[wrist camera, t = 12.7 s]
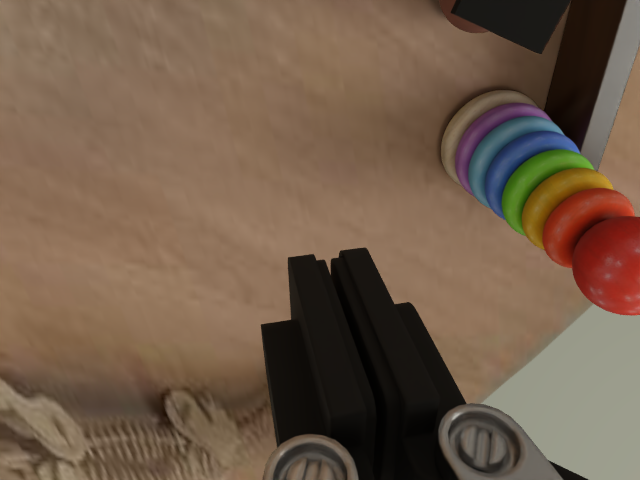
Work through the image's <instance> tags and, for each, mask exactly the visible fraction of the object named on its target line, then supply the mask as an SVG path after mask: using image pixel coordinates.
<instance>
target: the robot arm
mask: <svg viewBox="0 0 640 480" xmlns="http://www.w3.org/2000/svg"><path fill="white" fill-rule="evenodd" d="M288 274H289V290H290V307H291V320H287V321H281V322H274V323H267V324H261V331H262V341H263V350H264V358H265V366H266V374H267V381H268V388H269V395H270V402H271V409H272V415H273V422H274V429H275V436H276V442H277V449H276V450H274V451H273V452H272V454H271V456H270V458H269V459H268V461H267V463H266V465H265V470H264V475H263V480H588V479H586V478H584V477H582V476H580V475H578V474H576V473H573V472H571V471H569V470H567V469H565V468H563V467H561V466H559V465H557V464H555V463H553V462H551V461H549V460H547V459H546V457H545V456H544V455H543V454H542V452H541V451H540V450H539V449H538V448H537V446H536V445H535V444H534V442H533V441H532V440H531V439H530V438H529V436H528V435H527V434H526V432H525V431H524V430H523V429H522V428H521V426H520V425H518V423H516V422H515V421H514V420H513V419H512V418H511V417H510V416H509V415H507V414H505V413H504V412H502V411H500V410H499V409H496V408H493V407H490V406H487V405H484V404H473V403H470V404H466V402H465V400H464V398H463V396H462V394H461V392H460V391H459V389H458V387H457V385H456V383H455V381H454V379H453V378H452V376H451V374H450V372H449V370H448V368H447V366H446V365H445V363H444V361H443V359H442V357H441V355H440V353H439V352H438V350H437V348H436V346H435V344H434V342H433V340H432V339H431V337H430V335H429V333H428V331H427V329H426V327H425V326H424V324H423V322H422V320H421V318H420V316H419V314H418V313H417V311H416V309H415V307H414V306H413V305H412V304H411V303H410V302H407V303H400V304H394V302H393V300H392V298H391V296H390V294H389V292H388V290H387V288H386V286H385V284H384V282H383V280H382V278H381V276H380V274H379V272H378V270H377V268H376V266H375V264H374V262H373V260H372V258H371V256H370V254H369V252H368V250H367V248H357V249H350V250H342V251H340V253H339V258H333V259H331V275H330V273H329V270H328V267H327V264H326V262H325V260H318V261H316V258H315V256H314V254H311V255H304V256H296V257H288Z"/></svg>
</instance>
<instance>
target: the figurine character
mask: <svg viewBox="0 0 640 480" xmlns="http://www.w3.org/2000/svg"><path fill="white" fill-rule="evenodd" d="M570 1H571V0H439V3H440V6H441V9H442V11H443V13H444V15H445V17H446V18H447V19H448V20H449V21H450V22H451V23H452V24H453V25H454V26H455V27H457V28H459V29H461V30H463V31H466V32H470V33H484V32H488V31H490V32H493V33H495V34H497V35H499V36H501V37H503V38H506V39H508V40H510V41H512V42H514V43H516V44H519V45H521V46H523V47H525V48H527V49H529V50H531V51H534V52H536V53H539V54H542V52H543V50H544V48H545V47H546V45H547V43H548V41H549V39H550V38H551V36H552V34H553V32H554V30H555V29H556V27H557V25H558V23H559V21H560V19H561V18H562V16H563V14H564V12H565V10H566V9H567V7H568V5H569V3H570Z"/></svg>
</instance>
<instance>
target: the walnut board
mask: <svg viewBox="0 0 640 480" xmlns="http://www.w3.org/2000/svg"><path fill="white" fill-rule="evenodd" d="M639 45H640V0H572V3H571V7H570V11H569V15H568V19H567V23H566V27H565V31H564V35H563V39H562V43H561V47H560V51H559V55H558V59H557V63H556V67H555V71H554V75H553V79H552V83H551V87H550V91H549V95H548V99H547V103H546V107H545V111H544V112H545V113H546V114H547V115H548V116H549V117H550V119H551V120H552V122H553V123H554V124H556V125H557V126H558V127H559V128H560V129H561V131H562V132H563V134H564V135H565V136H566V137H568V138H569V139H571V140H572V141H573V142H574V143H575V145H576V146H577V148H578V150H579V152H580V154H581V155H582V156H584V157H585V158H586V159H587V160H588V161H589V162H590V163H591V164H592V166H593V168H594V170H595V171H598V168H599V165H600V162H601V159H602V156H603V153H604V150H605V147H606V144H607V141H608V138H609V135H610V132H611V129H612V126H613V123H614V120H615V117H616V114H617V111H618V108H619V105H620V102H621V99H622V96H623V93H624V90H625V87H626V84H627V81H628V78H629V75H630V72H631V69H632V66H633V63H634V60H635V57H636V54H637V51H638V48H639Z"/></svg>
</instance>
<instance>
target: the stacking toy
mask: <svg viewBox="0 0 640 480" xmlns="http://www.w3.org/2000/svg"><path fill="white" fill-rule="evenodd" d="M441 158H442V163H443V166H444V168H445V170H446V172H447V173H448V175H449V176H450V177H451V178H452V179H453V180H454V181H455V182H456V183H457V184H459V185H461V186H463V187H464V189H465V190H466V191H467V192H469V193H470V194H471V195H473V196H475V197H476V198H477V199H478V200H479V201H480V202H481V203H482V204H483V205H485V206H486V207H488V208H491V209H492V210H493V211H494V212H495V213H496V214H497V215H498V216H499V217H501V218H503V219H505V220H506V221H507V223H508V224H509V225H510V226H511V227H512V228H513V229H514V230H515V231H516V232H518V233H520V234H522V235H525V236H527V238H528V239H529V240H530V241H531V242H532V243H533V244H534V245H535V246H537V247H539V248H541V249H544V250H545V251H546V253H547V255H548V256H549V257H550V258H551V259H552V260H553V261H554V262H556V263H557V264H559V265H561V266H563V267H567V268H572V270H573V275H574V278H575V281H576V283H577V285H578V287H579V288H580V290H581V291H582V293H583V294H584V295H585V296H586V297H587V298H588V299H589V300H590V301H591V302H592V303H594V304H595V305H597V306H599V307H601V308H602V309H604V310H606V311H609V312H612V313H616V314H620V315H640V217H635V213H634V209H633V207H632V205H631V203H630V201H629V200H628V199H627V198H626V197H625V196H624V195H622V194H621V193H619V192H618V191H615V190H613V187H612V185H611V183H610V181H609V180H608V179H607V178H606V177H605V176H604V175H603V174H601V173H599V172H597V171H595V170H594V168H593V166H592V164H591V163H590V162H589V161H588V160H587V159H586V158H585V157H584V156H582V155H581V154H580V152H579V150H578V148H577V146H576V145H575V143H574V142H573V141H572V140H571V139H569V138H568V137H566V136H565V135H564V134H563V132H562V131H561V129H560V128H559V127H558V126H557V125H556V124H554V123H553V122H552V120H551V119H550V117H549V116H548V115H547V114H546V113H545V112H544V111H542V110H541V109H540V108H538V106H537V105H536V104H535V102H533V101H532V100H531V99H530V98H529V97H527V96H526V95H524V94H522V93H519V92H516V91H511V90H497V91H492V92H488V93H485V94H482V95H480V96H478V97H476V98H474V99H473V100H471V101H470V102H468V103H467V104H466V105H464V106H463V107H462V108H461V109H460V110H459V111H458V112H457V113H456V114H455V116H454V117H453V118H452V119H451V121H450V123H449V124H448V126H447V128H446V130H445V133H444V136H443V139H442V144H441Z"/></svg>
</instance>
